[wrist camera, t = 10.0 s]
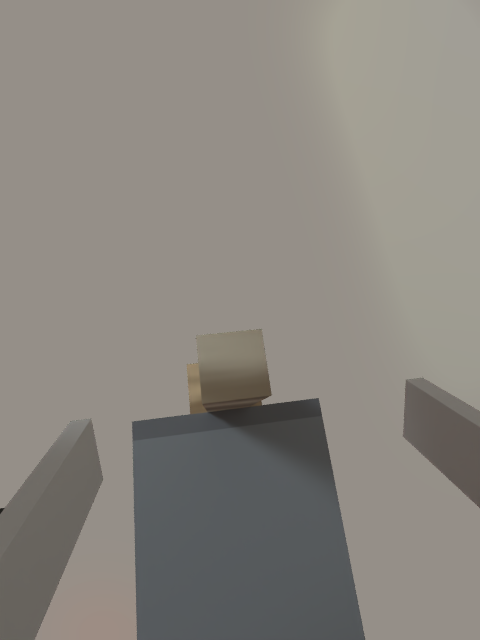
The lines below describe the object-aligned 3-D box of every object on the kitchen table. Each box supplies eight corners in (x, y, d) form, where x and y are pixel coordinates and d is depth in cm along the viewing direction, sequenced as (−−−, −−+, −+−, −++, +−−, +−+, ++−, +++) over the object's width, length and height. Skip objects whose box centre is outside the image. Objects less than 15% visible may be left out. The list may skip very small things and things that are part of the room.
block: (305, 391, 16) (288, 300, 18) (165, 408, 16) (160, 311, 17) (254, 409, 38) (248, 368, 40) (195, 417, 37) (191, 374, 39)
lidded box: (142, 1051, 17) (129, 422, 26) (172, 792, 29) (156, 422, 38) (429, 957, 19) (320, 397, 28) (346, 749, 30) (289, 405, 40)
